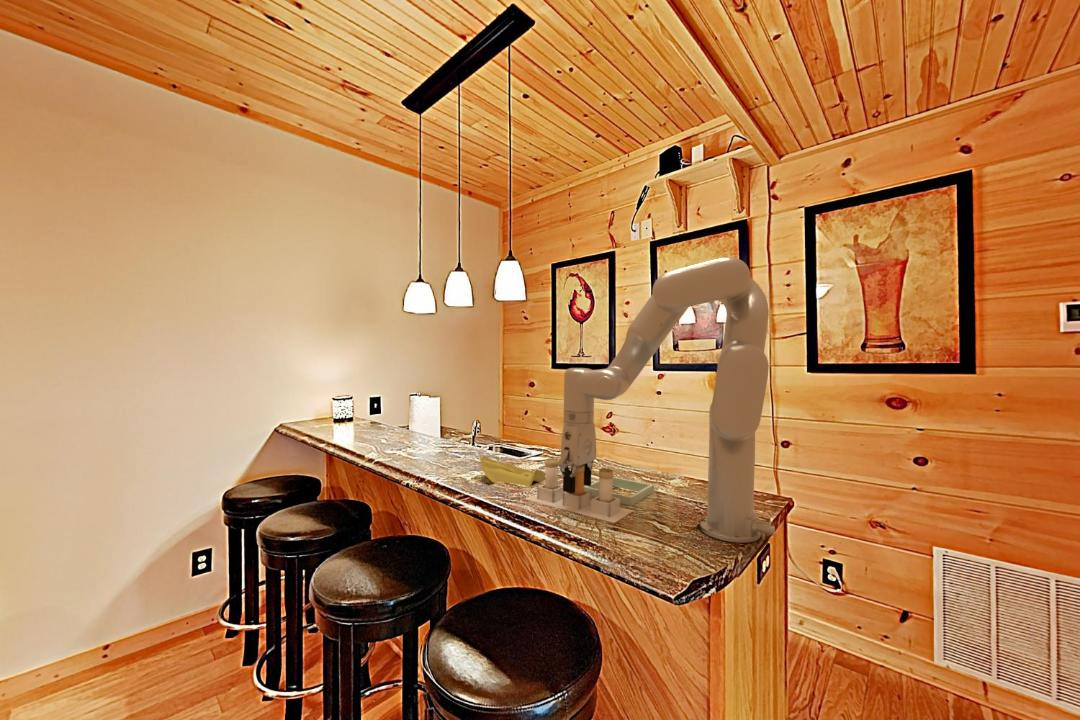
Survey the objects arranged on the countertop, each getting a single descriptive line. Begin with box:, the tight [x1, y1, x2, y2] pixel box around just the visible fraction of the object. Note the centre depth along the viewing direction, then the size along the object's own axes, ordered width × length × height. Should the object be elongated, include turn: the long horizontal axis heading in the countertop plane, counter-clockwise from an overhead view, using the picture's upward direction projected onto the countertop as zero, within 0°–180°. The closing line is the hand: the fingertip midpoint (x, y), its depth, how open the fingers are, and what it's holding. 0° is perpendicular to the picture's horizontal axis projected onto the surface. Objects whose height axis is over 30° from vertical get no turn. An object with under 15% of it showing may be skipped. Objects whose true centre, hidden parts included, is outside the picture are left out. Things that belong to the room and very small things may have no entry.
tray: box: [584, 476, 655, 507], centre depth 126 cm, size 14×14×4 cm
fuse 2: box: [598, 468, 614, 503], centre depth 111 cm, size 3×3×10 cm
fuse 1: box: [544, 457, 559, 490], centre depth 121 cm, size 3×3×10 cm
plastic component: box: [480, 454, 545, 488], centre depth 139 cm, size 20×7×10 cm
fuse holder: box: [524, 483, 634, 524], centre depth 116 cm, size 10×26×4 cm, turn 53°
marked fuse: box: [571, 465, 585, 496], centre depth 116 cm, size 3×3×10 cm
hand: (577, 487), depth 116 cm, fingers open, 6 cm apart
